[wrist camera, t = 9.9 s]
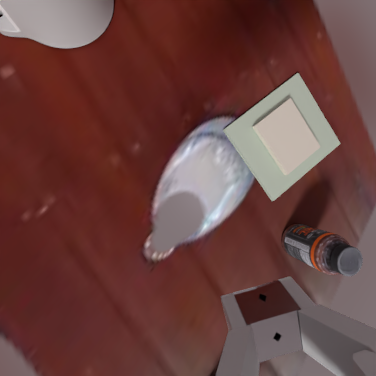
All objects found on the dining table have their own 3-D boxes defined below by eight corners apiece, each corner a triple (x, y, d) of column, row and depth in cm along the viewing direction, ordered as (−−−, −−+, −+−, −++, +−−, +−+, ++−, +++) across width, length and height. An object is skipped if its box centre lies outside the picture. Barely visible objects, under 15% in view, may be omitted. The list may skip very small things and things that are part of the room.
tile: (255, 125, 36) (290, 97, 37) (251, 127, 38) (286, 100, 39) (287, 174, 38) (320, 146, 39) (283, 174, 39) (315, 147, 40)
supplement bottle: (304, 218, 41) (364, 233, 30) (312, 248, 42) (374, 273, 31) (276, 229, 40) (328, 249, 29) (284, 260, 41) (338, 291, 29)
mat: (222, 130, 37) (223, 129, 37) (296, 73, 39) (298, 72, 39) (271, 200, 39) (273, 201, 39) (338, 143, 42) (340, 143, 41)
